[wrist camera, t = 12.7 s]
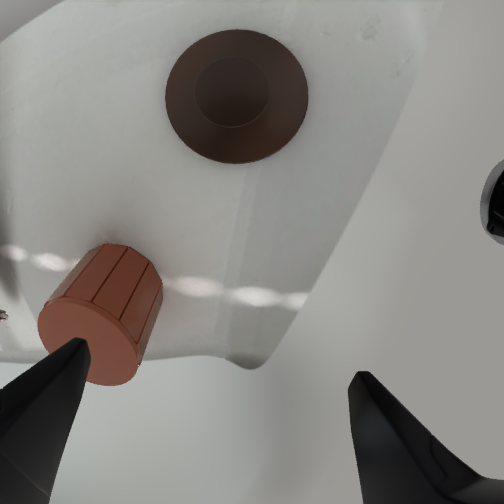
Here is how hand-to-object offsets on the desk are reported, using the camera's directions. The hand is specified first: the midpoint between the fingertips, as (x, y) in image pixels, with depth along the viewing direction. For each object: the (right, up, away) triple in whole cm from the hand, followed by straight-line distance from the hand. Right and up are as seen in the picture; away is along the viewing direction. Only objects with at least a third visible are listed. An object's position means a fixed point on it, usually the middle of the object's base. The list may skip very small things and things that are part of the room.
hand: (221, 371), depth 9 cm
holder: (0, +13, +7) cm, 14 cm away
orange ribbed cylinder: (-9, +1, +13) cm, 16 cm away
